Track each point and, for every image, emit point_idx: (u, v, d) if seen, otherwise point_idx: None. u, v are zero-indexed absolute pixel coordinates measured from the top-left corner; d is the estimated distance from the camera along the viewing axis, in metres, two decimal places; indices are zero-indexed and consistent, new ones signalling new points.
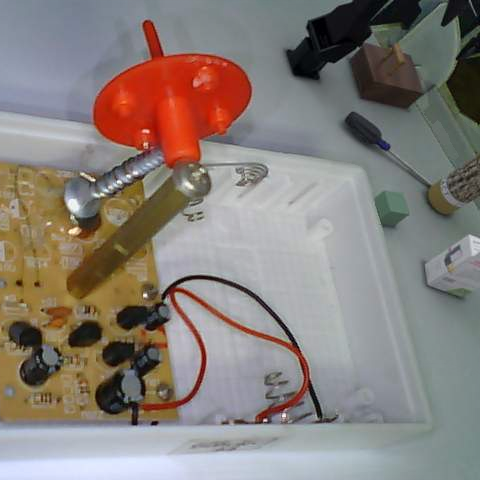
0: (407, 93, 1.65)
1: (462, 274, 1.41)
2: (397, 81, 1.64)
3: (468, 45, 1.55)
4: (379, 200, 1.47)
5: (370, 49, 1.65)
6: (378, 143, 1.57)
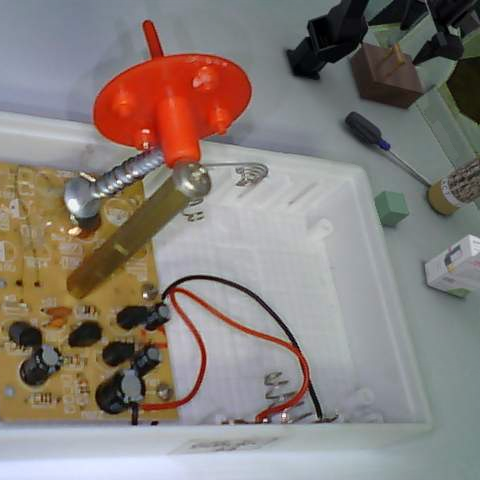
0: (407, 93, 1.65)
1: (462, 274, 1.41)
2: (397, 81, 1.64)
3: (423, 49, 1.53)
4: (379, 200, 1.47)
5: (370, 49, 1.65)
6: (378, 143, 1.57)
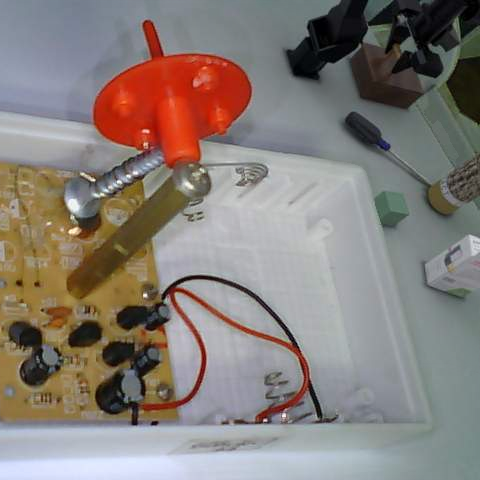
0: (407, 93, 1.65)
1: (462, 274, 1.41)
2: (397, 81, 1.64)
3: (401, 58, 1.58)
4: (379, 200, 1.47)
5: (370, 49, 1.65)
6: (378, 143, 1.57)
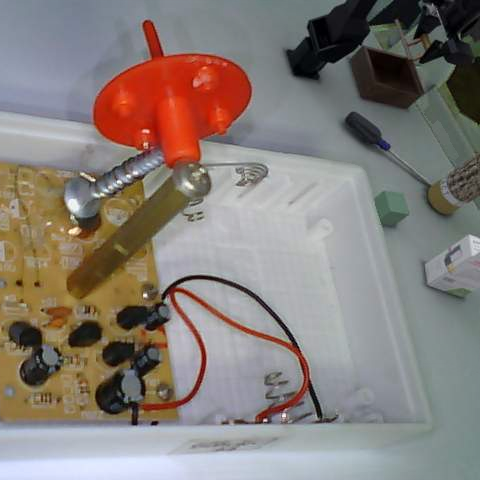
0: (407, 93, 1.65)
1: (462, 274, 1.41)
2: (416, 70, 1.61)
3: (430, 48, 1.56)
4: (379, 200, 1.47)
5: None
6: (378, 143, 1.57)
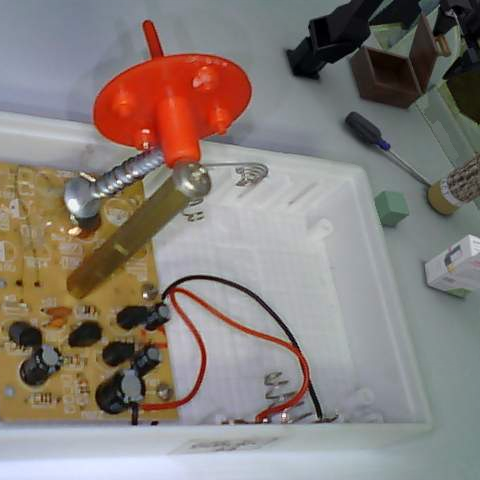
0: (407, 93, 1.65)
1: (462, 274, 1.41)
2: None
3: (454, 64, 1.55)
4: (379, 200, 1.47)
5: None
6: (378, 143, 1.57)
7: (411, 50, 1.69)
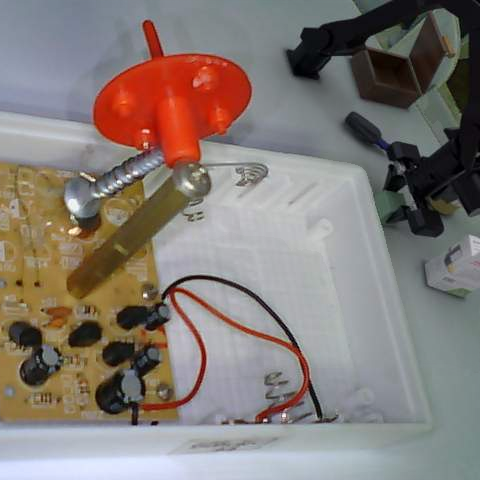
0: (407, 93, 1.65)
1: (462, 274, 1.41)
2: None
3: (397, 212, 1.42)
4: (379, 200, 1.47)
5: None
6: (378, 143, 1.57)
7: (412, 50, 1.69)
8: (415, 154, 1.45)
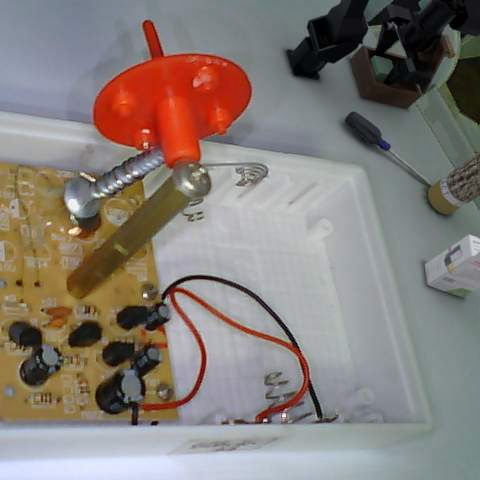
0: (407, 93, 1.65)
1: (462, 274, 1.41)
2: None
3: (392, 71, 1.59)
4: None
5: None
6: (378, 143, 1.57)
7: None
8: (407, 16, 1.62)
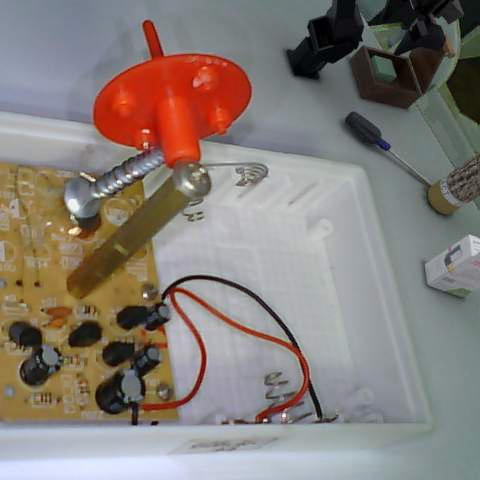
0: (407, 93, 1.65)
1: (462, 274, 1.41)
2: None
3: (404, 39, 1.49)
4: None
5: None
6: (378, 143, 1.57)
7: (412, 50, 1.69)
8: None
